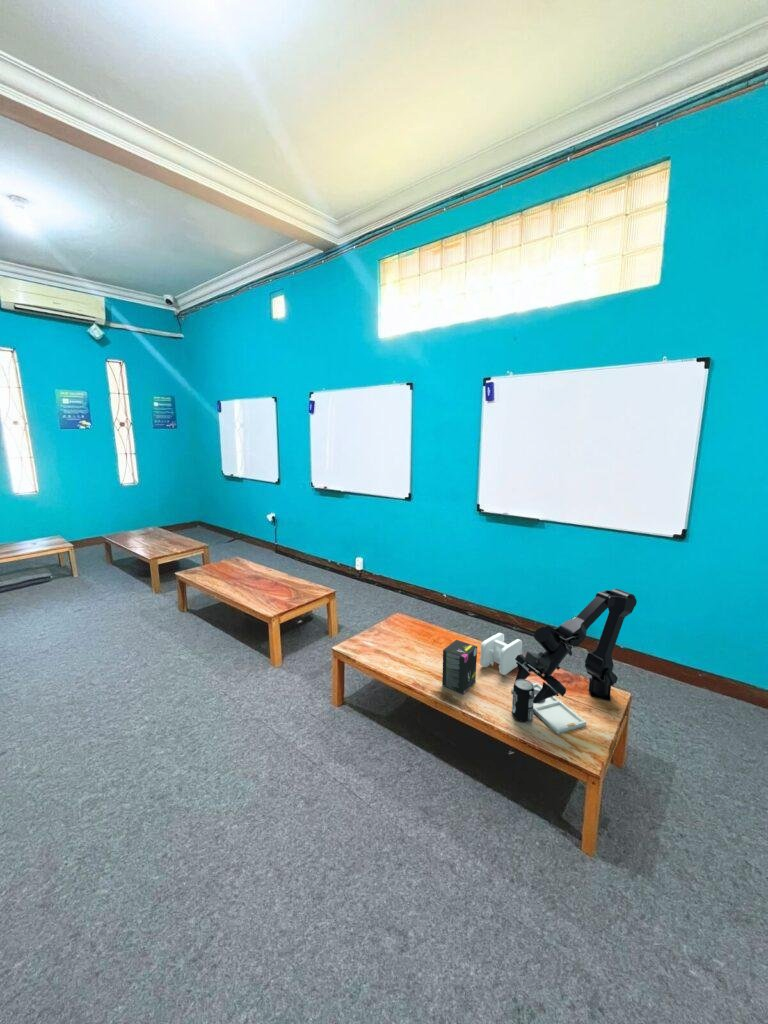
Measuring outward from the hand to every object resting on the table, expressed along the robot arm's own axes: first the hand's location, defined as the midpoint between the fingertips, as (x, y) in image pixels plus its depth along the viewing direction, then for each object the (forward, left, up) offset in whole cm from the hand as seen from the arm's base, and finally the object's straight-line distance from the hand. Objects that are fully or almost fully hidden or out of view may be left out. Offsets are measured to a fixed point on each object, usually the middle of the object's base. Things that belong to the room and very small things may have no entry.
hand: (523, 694), depth 132 cm
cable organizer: (+12, -28, -8) cm, 32 cm away
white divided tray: (-7, -8, -8) cm, 14 cm away
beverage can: (0, 0, -8) cm, 8 cm away
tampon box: (+24, -9, -8) cm, 27 cm away
